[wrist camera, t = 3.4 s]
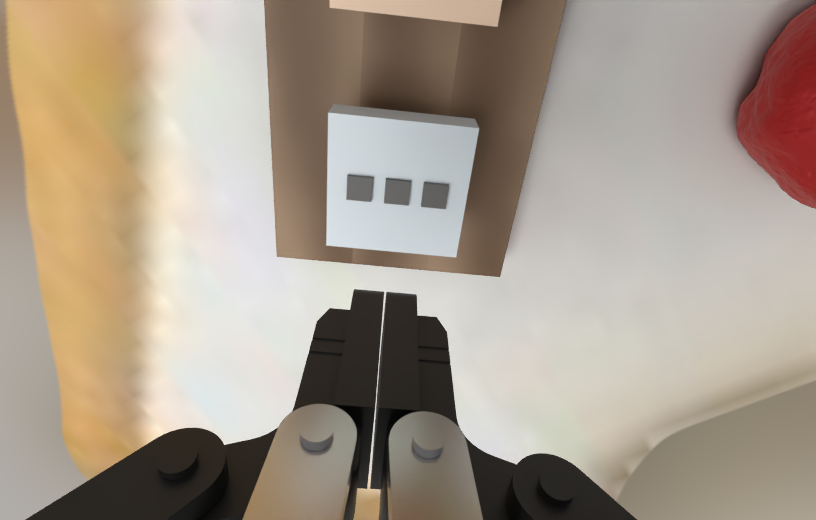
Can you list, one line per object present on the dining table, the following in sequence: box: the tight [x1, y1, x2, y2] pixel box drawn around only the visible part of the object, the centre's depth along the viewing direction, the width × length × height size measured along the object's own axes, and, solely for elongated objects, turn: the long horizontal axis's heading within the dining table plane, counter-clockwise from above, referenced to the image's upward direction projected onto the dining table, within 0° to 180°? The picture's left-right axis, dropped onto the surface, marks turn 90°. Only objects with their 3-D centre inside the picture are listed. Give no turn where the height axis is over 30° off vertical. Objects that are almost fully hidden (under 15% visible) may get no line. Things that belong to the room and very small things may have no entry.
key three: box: [326, 104, 479, 257], centre depth 20 cm, size 6×6×4 cm
